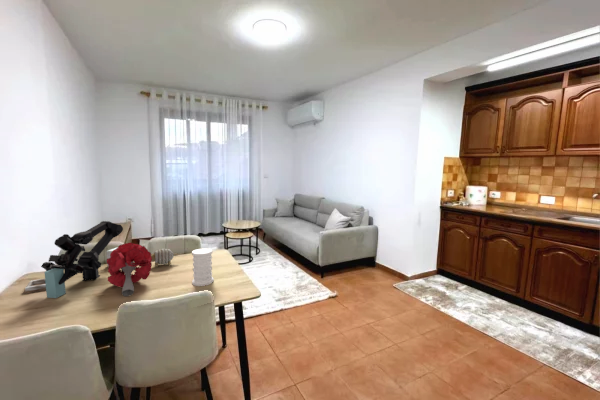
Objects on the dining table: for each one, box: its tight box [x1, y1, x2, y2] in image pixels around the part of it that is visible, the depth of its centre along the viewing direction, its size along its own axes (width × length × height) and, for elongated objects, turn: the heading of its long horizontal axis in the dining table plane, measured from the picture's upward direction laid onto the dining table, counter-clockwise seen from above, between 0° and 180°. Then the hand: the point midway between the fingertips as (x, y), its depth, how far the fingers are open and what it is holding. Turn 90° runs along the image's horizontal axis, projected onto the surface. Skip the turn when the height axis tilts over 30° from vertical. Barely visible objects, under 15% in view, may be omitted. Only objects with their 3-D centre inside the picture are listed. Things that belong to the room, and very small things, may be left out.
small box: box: [106, 246, 118, 267], centre depth 181 cm, size 8×6×10 cm
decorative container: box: [191, 247, 215, 287], centre depth 157 cm, size 12×12×18 cm
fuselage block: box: [44, 268, 66, 299], centre depth 138 cm, size 5×5×13 cm
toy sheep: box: [151, 248, 179, 268], centre depth 182 cm, size 11×17×11 cm, turn 127°
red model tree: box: [106, 242, 153, 297], centre depth 148 cm, size 22×24×30 cm
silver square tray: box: [22, 278, 46, 295], centre depth 147 cm, size 12×12×3 cm
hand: (52, 283), depth 136 cm, fingers open, 7 cm apart
